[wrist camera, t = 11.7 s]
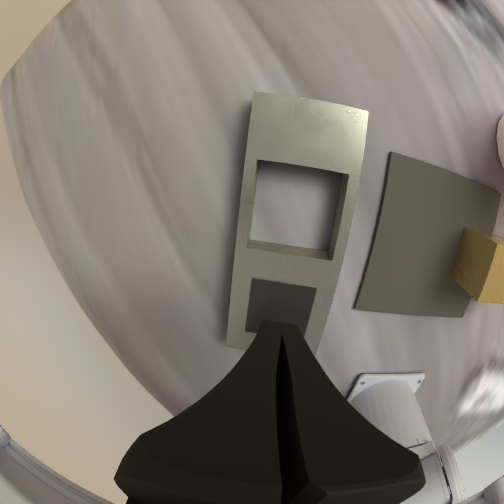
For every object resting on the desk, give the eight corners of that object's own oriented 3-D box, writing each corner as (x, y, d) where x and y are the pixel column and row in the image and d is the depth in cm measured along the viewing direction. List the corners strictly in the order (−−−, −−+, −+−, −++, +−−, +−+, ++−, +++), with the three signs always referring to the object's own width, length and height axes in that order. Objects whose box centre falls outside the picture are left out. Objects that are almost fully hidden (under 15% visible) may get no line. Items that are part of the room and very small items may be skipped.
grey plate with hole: (312, 343, 21) (314, 358, 20) (229, 332, 22) (225, 346, 20) (360, 115, 15) (369, 111, 13) (256, 97, 16) (253, 91, 14)
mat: (460, 315, 19) (462, 317, 19) (354, 307, 20) (355, 309, 20) (498, 193, 15) (500, 193, 15) (390, 151, 16) (391, 152, 16)
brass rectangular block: (449, 276, 18) (495, 284, 18) (477, 301, 14) (520, 305, 13) (465, 226, 16) (509, 241, 16) (497, 243, 12) (538, 257, 12)
